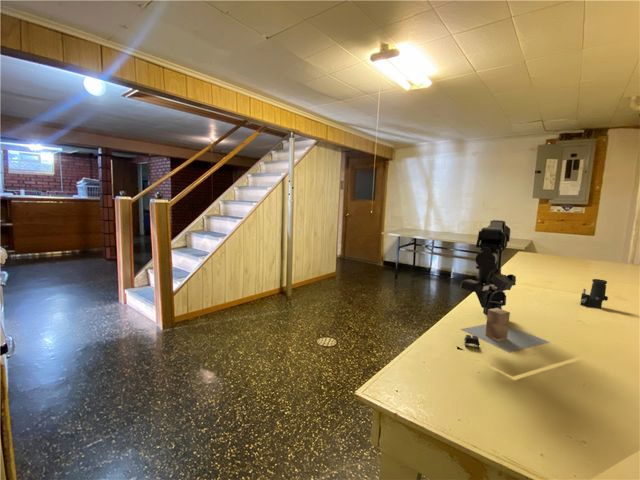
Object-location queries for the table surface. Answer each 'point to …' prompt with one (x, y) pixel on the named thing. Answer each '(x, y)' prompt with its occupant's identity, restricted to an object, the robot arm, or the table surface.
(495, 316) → the walnut post
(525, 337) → the slate mat
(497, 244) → the robot arm
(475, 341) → the black mounting bracket
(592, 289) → the scope
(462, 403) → the table surface
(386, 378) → the table surface
